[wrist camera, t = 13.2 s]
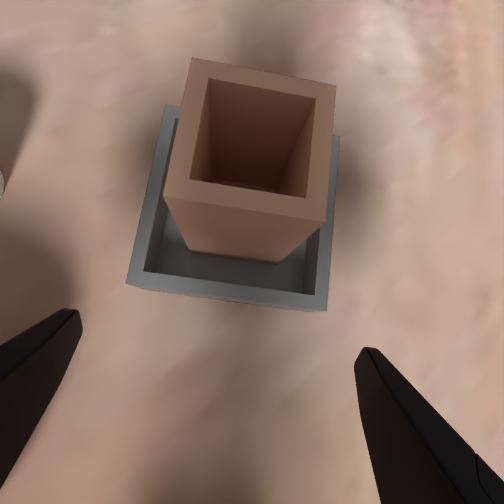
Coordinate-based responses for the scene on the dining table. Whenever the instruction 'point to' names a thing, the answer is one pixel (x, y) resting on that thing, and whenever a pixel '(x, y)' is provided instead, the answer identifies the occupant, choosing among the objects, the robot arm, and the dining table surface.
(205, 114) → the terracotta bin
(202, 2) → the dining table surface
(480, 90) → the dining table surface
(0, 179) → the white cylindrical piece
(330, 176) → the grey square tray
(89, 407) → the dining table surface
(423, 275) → the dining table surface
